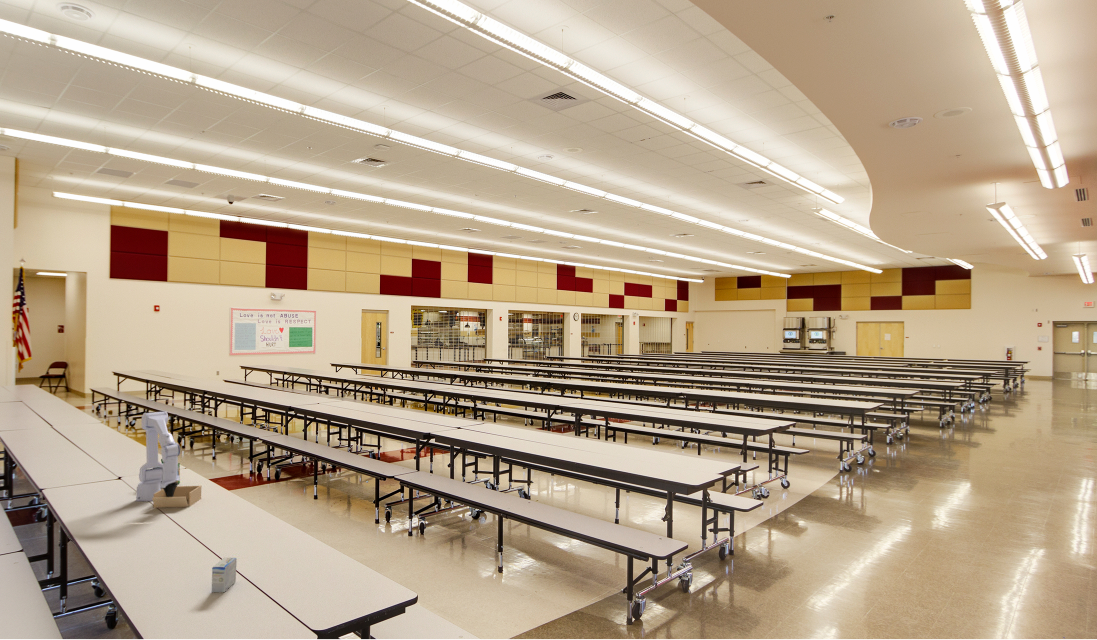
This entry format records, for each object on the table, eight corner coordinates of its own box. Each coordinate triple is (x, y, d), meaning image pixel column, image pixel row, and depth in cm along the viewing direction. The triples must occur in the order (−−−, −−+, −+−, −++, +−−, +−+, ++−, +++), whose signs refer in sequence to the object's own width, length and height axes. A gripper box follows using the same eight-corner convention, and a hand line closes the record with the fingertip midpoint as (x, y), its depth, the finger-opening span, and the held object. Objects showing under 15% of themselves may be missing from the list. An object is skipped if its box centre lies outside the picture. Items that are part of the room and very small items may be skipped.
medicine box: (222, 582, 194) (223, 557, 194) (236, 582, 194) (236, 557, 194) (211, 593, 186) (211, 567, 186) (225, 592, 186) (225, 566, 186)
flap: (155, 507, 266) (152, 498, 263) (155, 506, 267) (152, 497, 263) (188, 506, 269) (184, 497, 265) (188, 505, 269) (185, 496, 266)
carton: (153, 509, 266) (153, 493, 266) (166, 501, 278) (166, 486, 278) (190, 507, 269) (190, 492, 269) (201, 500, 281) (201, 485, 281)
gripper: (172, 474, 259) (171, 503, 259) (186, 466, 273) (186, 494, 273) (155, 474, 258) (154, 503, 257) (170, 466, 272) (170, 494, 272)
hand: (169, 498), depth 265 cm, fingers closed, pressing on flap
